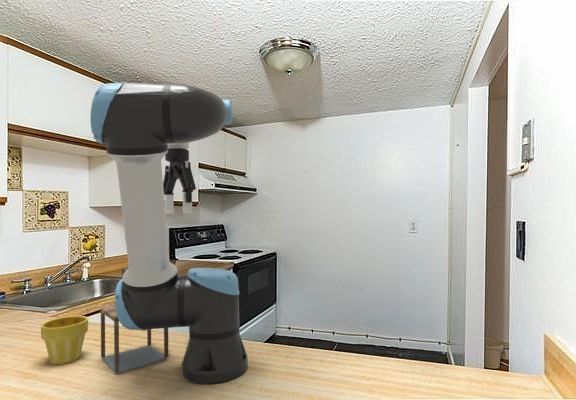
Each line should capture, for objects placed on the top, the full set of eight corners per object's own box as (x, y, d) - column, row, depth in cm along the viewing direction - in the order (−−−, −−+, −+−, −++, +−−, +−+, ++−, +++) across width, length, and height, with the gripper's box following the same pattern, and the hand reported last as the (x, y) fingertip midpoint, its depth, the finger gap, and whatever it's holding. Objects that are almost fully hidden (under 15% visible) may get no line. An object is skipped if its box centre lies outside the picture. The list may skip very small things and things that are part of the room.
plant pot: (72, 367, 88) (72, 327, 89) (31, 368, 88) (30, 327, 89) (96, 351, 99) (95, 314, 99) (58, 351, 99) (58, 315, 99)
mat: (166, 359, 92) (166, 357, 92) (116, 374, 84) (116, 371, 84) (149, 346, 101) (149, 344, 101) (102, 359, 93) (102, 357, 93)
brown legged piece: (168, 357, 92) (167, 268, 92) (115, 372, 83) (114, 274, 84) (150, 344, 101) (149, 263, 102) (100, 356, 93) (100, 268, 94)
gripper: (205, 144, 112) (207, 212, 112) (171, 155, 131) (173, 213, 130) (183, 141, 107) (184, 213, 107) (151, 153, 126) (152, 214, 125)
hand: (178, 213), depth 118 cm, fingers open, 13 cm apart
